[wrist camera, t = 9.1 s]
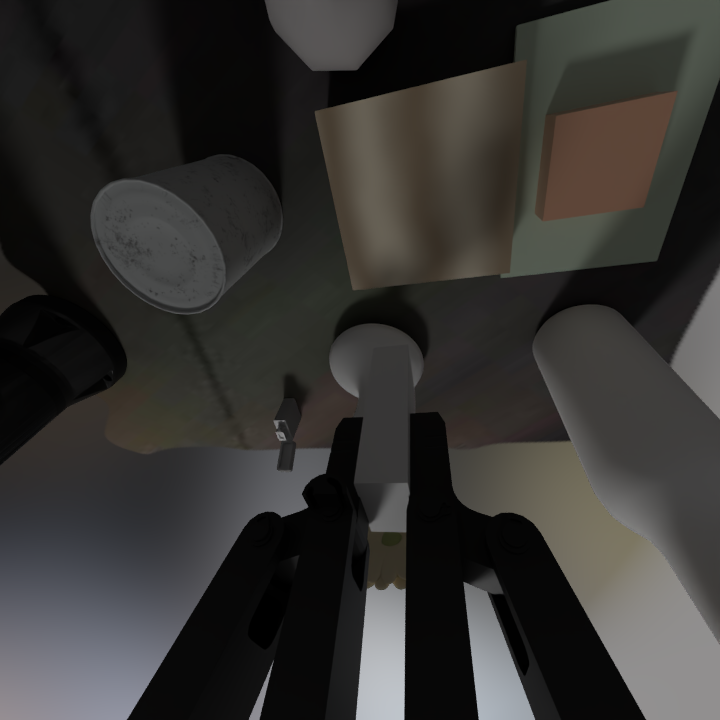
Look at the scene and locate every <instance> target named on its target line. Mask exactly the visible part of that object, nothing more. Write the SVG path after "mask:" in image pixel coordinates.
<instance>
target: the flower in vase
mask: <svg viewBox="0 0 720 720" xmlns="http://www.w3.org/2000/svg"><path fill="white" fill-rule="evenodd" d="M406 344H408V347H409V354H410V361H411V368H412V375H413V382H414V387H415V386H416V384H417V383H418V381H419V380H420V378H421V376H422V373H423V369H424V361H423V356H422V353H421V350H420V348H419V347H418V345H417V344H416V343H415V341H414V340H413V339H412V338H411V337H409V336H408V335H407V334H406V333H404V332H402V331H401V330H399V329H397V328H394V327H391V326H388V325H384V324H371V323H370V324H362V325H357V326H354V327H352V328H349V329H348V330H346V331H344V332H343V333H341V334H340V335H339V336H338V337H337V338H336V340H335V341H334V342H333V344H332V346H331V349H330V354H329V362H330V367H331V371H332V374H333V376H334V378H335V379H336V381H337V382H338V383H339V385H340V386H341V387H342V388H344V389H345V390H346V391H348V392H349V393H351V394H352V395H354V396H356V397H358V398H359V399H358V405H357V408H356V411H355V414H354V417H363V416H364V410H365V403H366V396H367V389H368V382H369V375H370V368H371V362H372V355H373V348H376V347H386V346H396V345H406ZM367 540H368V542H369V548H370V556H369V568H368V580H367V588H370V587H372V586H373V585H374V584H375V587H376V588H377V589H378V590H384V589H386V588H387V587H388V586H389V584H391V583H393V584H394V585H395V587H396V588H398V589H405V588H406V532H371V529H370V527H368V538H367Z"/></svg>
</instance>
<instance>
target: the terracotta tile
mask: <svg viewBox="0 0 720 720" xmlns="http://www.w3.org/2000/svg"><path fill="white" fill-rule="evenodd" d="M677 92H678V91H663V92H653V93H648V94H643V95H638V96H634V97H629V98H624V99H619V100H614V101H609V102H605V103H600V104H595V105H590V106H585V107H581V108H576V109H571V110H566V111H561V112H556V113H552V114H547V115H546V116H545V125H544V134H543V143H542V152H541V160H540V169H539V178H538V187H537V196H536V205H535V214H536V215H537V216H538V217H539V218H540V219H541V220H542V221H550V220H557V219H564V218H571V217H578V216H586V215H593V214H600V213H607V212H614V211H621V210H628V209H635V208H642V207H644V205H645V202H646V198H647V195H648V191H649V188H650V185H651V181H652V178H653V174H654V171H655V167H656V164H657V161H658V157H659V154H660V150H661V147H662V143H663V140H664V137H665V133H666V130H667V126H668V123H669V119H670V116H671V113H672V109H673V106H674V102H675V99H676V95H677Z"/></svg>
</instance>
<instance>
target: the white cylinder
mask: <svg viewBox="0 0 720 720" xmlns="http://www.w3.org/2000/svg"><path fill="white" fill-rule="evenodd" d="M90 215H91V230H92V233H93V237H94V240H95V244H96V246H97V248H98V250H99V252H100V254H101V256H102V258H103V260H104V261H105V263H106V264H107V266H108V267H109V269H110V270H111V272H112V273H113V274H114V275H115V276H116V277H117V278H118V279H119V281H120V282H121V283H122V284H123V285H124V286H125V287H127V288H128V289H129V290H130V291H131V292H132V293H134V294H135V295H136V296H138V297H139V298H141V299H142V300H144V301H145V302H147V303H149V304H151V305H153V306H155V307H157V308H159V309H162V310H165V311H168V312H172V313H176V314H194V313H200V312H203V311H205V310H207V309H209V308H211V307H212V306H213V305H214V304H215V303H216V302H218V301H219V299H220V297H221V296H222V295H223V294H224V293H225V292H226V291H227V290H228V289H229V288H230V287H231V286H232V285H233V284H234V283H235V282H236V281H237V280H239V279H240V278H241V277H242V276H243V275H244V274H245V273H246V272H247V271H248V270H249V269H250V268H251V267H252V266H253V265H254V264H255V263H256V262H257V261H258V260H259V259H260V258H261V257H262V256H263V255H265V254H266V253H268V252H269V251H270V250H271V249H272V248H273V247H274V246H275V245H276V243H277V241H278V240H279V238H280V235H281V232H282V226H283V214H282V206H281V203H280V200H279V198H278V195H277V193H276V191H275V189H274V187H273V186H272V184H271V182H270V181H269V180H268V179H267V177H266V176H265V175H264V174H263V173H262V172H261V171H260V170H259V169H258V168H257V167H255V166H254V165H253V164H251V163H250V162H248V161H246V160H244V159H242V158H240V157H236V156H233V155H224V154H218V155H215V156H211V157H208V158H206V159H204V160H200V161H196V162H193V163H189V164H185V165H181V166H177V167H173V168H170V169H166V170H162V171H158V172H154V173H150V174H147V175H143V176H139V177H135V178H124V179H120V180H117V181H113V182H110V183H109V184H108V185H106V186H105V187H104V188H102V189H101V190H100V191H99V193H98V194H97V196H96V198H95V199H94V201H93V205H92V210H91V214H90Z"/></svg>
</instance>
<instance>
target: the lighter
mask: <svg viewBox="0 0 720 720" xmlns="http://www.w3.org/2000/svg"><path fill="white" fill-rule="evenodd" d="M300 420H301V415H300V412H299V409H298V406H297V404H296V401H295V399H294V398H284V400H283V402H282V404H281V406H280V408H279V411H278V413H277V415H276V417H275V419H274V423H275V426H276V428H277V431H276V434H277V436H278V438H279V440H281V441H282V442H281V448H280V454H279V459H278V465H277V470H278V471H281V472H291V471H292V469H293V462H294V455H295V449H296V443H295V442H294V441H292V440H293V438H294V435H295V433H296V430H297V428H298V425H299V422H300Z"/></svg>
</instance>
